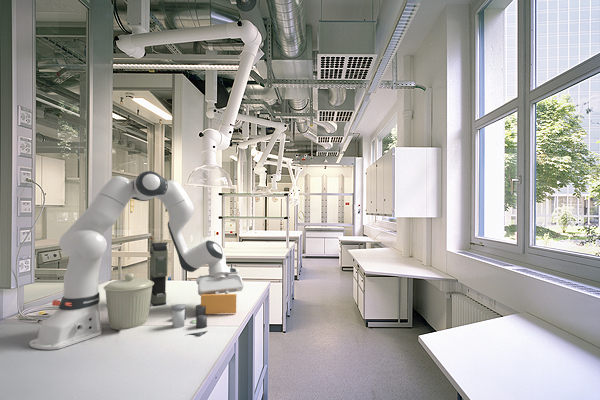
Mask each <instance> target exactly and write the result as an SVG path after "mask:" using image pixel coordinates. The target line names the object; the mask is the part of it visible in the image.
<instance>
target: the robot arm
mask: <svg viewBox="0 0 600 400" xmlns="http://www.w3.org/2000/svg"><path fill="white" fill-rule="evenodd" d="M155 198H156V199H158V200H159V201H160V202H161V203H163V206H164V208H165V209H166V211H167V213H168V218H169V219H168V222H167V229H168V232H169V234H170V238H171V241H172V243H173V246H174V248H175V250H176V253H177V257H178V261H179V265H180V267H181V268H182V270H184V271H186V272H189V273H194V272H195V271H197V270H199V269H200V268H202V267H203V266H206V265H207V266H208V274H206V275H205V274H204V275H199V276H198V277H197V278H196V280H195V281H196V284H197V285H198V286H197V295H199V296H200V297H201V295H207V294H230V293H235V292H242V291H243V289H244V287H245V286H244V281H243V279H242V276H241V275H240V274H239V269H238V268H235V267H231V266H230V267H229V266H228V265H227V258H226V253H225V250H224V247H223V246H222V244H220V243H219V242H215V241H213V240H210V239H209V240H206V241H203V242H202V243H200V244H198V245H196V246H195V247H192V248H190V249H189V248H188V245H187V243H186V241H185V238H184V235H183V229H184V227H185V226H186V225H187V224H188V222H190V220H191V219H192V217H193V215H194V211H195V206H194V204H193V202H192V200H191V198H190V197H189V195H188V193H187V192H186V190H185V189H184V188H183V186H182V185H181V184H180V182H178V181H177V180H174V179H171V180H167V179H166V178H164V177H163V176H162V175H160V174H159V173H157V172H155V171H152V170H146V171H143V172H141V173H140V174H138V175H137V177H135V178H134V179H129V178H127V177H125V176H121V175H116V176H113V177H111V178H110V179H109V181H108V182H106V184H104V186H102V188H101V189H100V190H99V192H98V194H96V196H95V198H94V199H93V200H92V202H91V203H90V204H89V206H88V207H87V209H86V210H85V211H84V212H83V214H82V215H80V217H78V219H76V221H74V223H72V225H71V226H70V227H69V228H68V230H67V231H65V232H64V233H63V234H62V235H61V237H60V238H59V241H58V243H59V244H58V245H59V248H60V249H61V252H62V253H64V254H65V255H66V256H68V262H67V268H66V270H65V273H64V274H63V296H62V297H61V300H58V299H53V300H52V302H51V305H52V306H53V307H57V308H58V309H57V310H56V311H54V313H52V314H51V315H50V316H49V317H48V318H47V319H46V320H45V321H44V322H43V323H42V324H40V327H39V329H38V332H37V333H38V334H37V338H34V339H32V340H30V341H29V347H31V348H33V349H37V350H44V351H45V350H49V351H51V350H59V349H63V348H66V347H68V346H71V345H75V344H78V343H81V342H83V341H87V340H90V339H92V338H95V337H99V336H101V335H102V333H103V332H102V331H103V330H104V329H103V325H102V322H101V316H100V310H99V309H100V308H99V303H100V298H101V297H100V292H99V279H100V278H99V277H100V276H99V275H100V268H101V266H102V265H101V264H102V260H103V255H104V254H105V252H106V251H107V247H108V243H107V239H106V238H105V237H104V236H103V235H104V234H105V233H106V232H107V231H108V230H110V228H111V227H112V226H114V225H115V224H116V222H117V221H118V219H119V217H120V215H121V214H122V212H123V211H124V210H125V208H126V206H127V205H128V203H129V202H130V201H131V200H136V201H140V202H147V201H151V200H153V199H155Z"/></svg>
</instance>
